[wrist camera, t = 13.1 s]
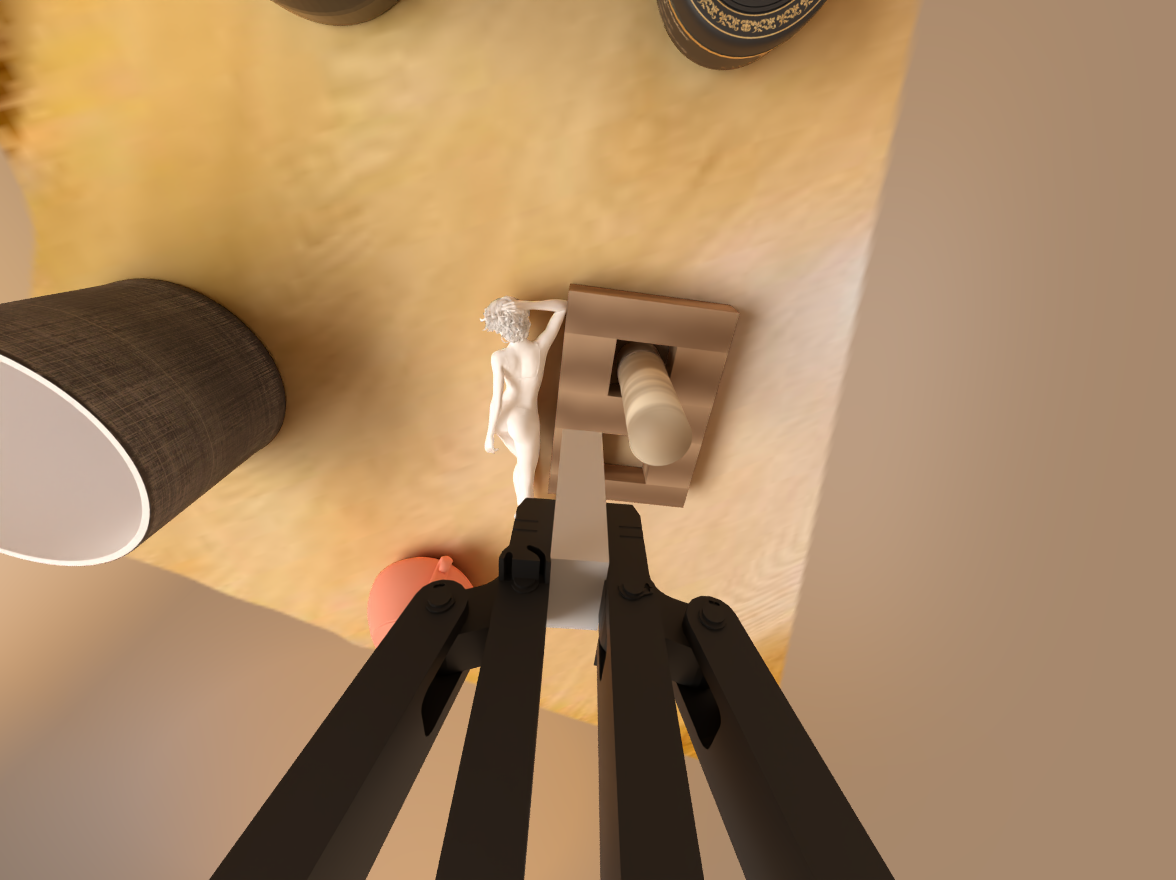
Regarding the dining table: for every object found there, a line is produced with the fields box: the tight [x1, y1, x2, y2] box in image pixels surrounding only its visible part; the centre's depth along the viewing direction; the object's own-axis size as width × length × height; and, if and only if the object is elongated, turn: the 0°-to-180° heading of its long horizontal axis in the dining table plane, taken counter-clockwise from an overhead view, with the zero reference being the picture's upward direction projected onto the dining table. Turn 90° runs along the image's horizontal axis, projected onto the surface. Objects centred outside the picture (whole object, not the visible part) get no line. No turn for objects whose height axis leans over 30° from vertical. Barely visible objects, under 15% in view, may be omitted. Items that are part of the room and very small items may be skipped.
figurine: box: [480, 296, 568, 518], centre depth 42 cm, size 8×6×25 cm
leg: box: [617, 341, 692, 466], centre depth 35 cm, size 4×4×15 cm
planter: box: [0, 279, 286, 566], centre depth 35 cm, size 18×18×16 cm
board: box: [548, 284, 740, 508], centre depth 42 cm, size 20×14×3 cm
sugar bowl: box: [367, 556, 473, 648], centre depth 51 cm, size 12×14×10 cm
